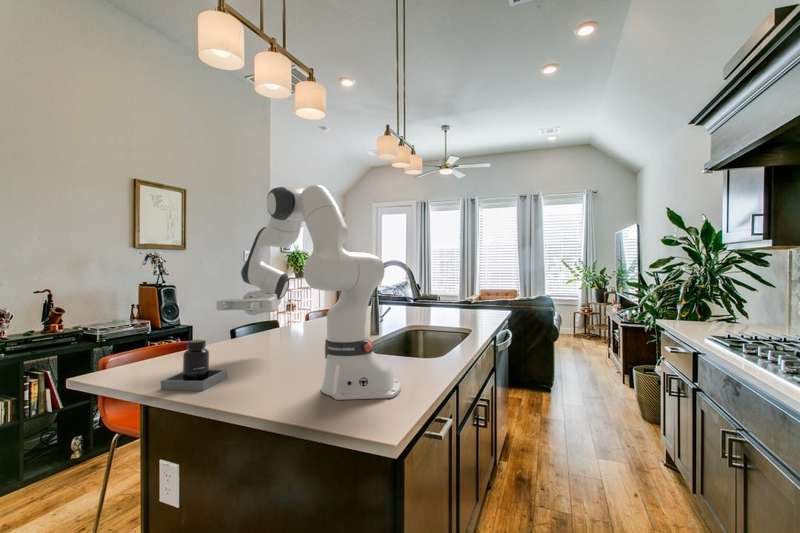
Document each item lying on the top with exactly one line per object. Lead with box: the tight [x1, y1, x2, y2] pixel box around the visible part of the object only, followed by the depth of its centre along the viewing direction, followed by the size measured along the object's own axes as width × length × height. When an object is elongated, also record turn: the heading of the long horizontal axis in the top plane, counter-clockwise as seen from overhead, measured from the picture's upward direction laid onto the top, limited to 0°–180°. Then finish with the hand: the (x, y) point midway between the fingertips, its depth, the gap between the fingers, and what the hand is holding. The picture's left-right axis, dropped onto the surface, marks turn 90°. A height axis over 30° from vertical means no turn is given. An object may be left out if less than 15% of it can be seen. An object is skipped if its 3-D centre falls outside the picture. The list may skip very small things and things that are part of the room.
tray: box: [160, 368, 228, 392], centre depth 113 cm, size 13×13×2 cm
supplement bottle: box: [182, 339, 210, 381], centre depth 113 cm, size 7×7×12 cm
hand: (235, 306), depth 127 cm, fingers open, 8 cm apart
